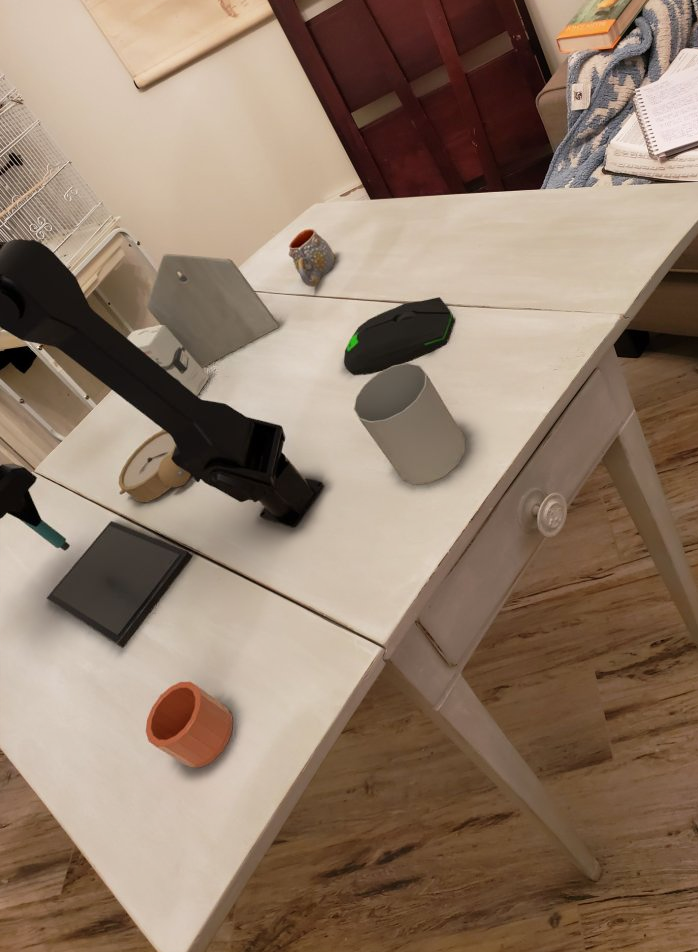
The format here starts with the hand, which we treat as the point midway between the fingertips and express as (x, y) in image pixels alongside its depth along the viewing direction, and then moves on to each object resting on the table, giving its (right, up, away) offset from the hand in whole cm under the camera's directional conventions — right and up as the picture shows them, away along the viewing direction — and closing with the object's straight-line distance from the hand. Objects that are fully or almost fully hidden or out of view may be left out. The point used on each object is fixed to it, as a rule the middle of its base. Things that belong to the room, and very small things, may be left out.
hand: (35, 522), depth 91 cm
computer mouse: (+46, +24, +8) cm, 53 cm away
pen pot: (+27, -18, -23) cm, 40 cm away
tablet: (+10, -8, +1) cm, 13 cm away
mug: (+33, +39, +34) cm, 61 cm away
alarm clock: (+14, +6, +13) cm, 20 cm away
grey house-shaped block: (+19, +28, +33) cm, 48 cm away
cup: (+49, +8, -11) cm, 51 cm away
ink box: (+11, +19, +29) cm, 37 cm away
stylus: (+2, -4, +3) cm, 6 cm away
